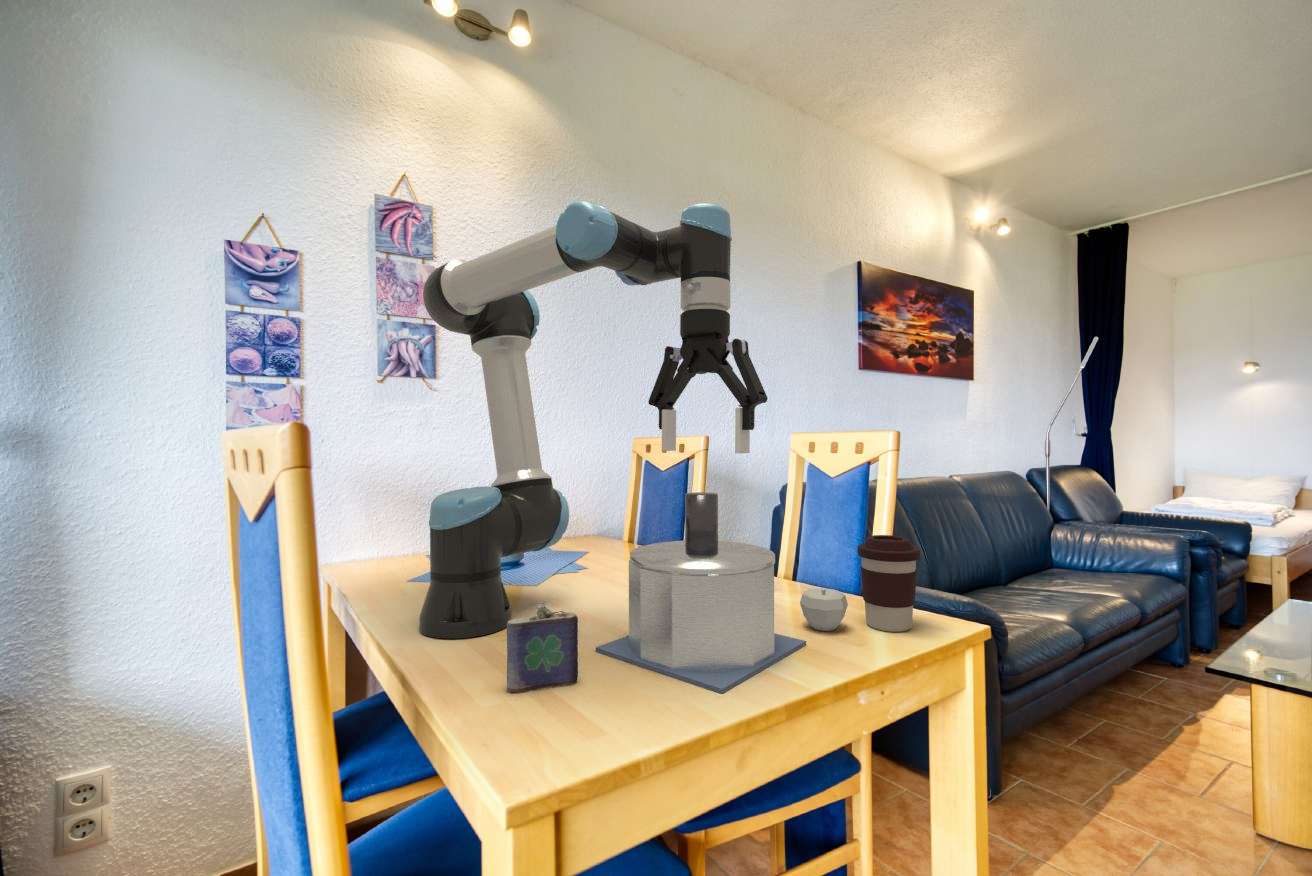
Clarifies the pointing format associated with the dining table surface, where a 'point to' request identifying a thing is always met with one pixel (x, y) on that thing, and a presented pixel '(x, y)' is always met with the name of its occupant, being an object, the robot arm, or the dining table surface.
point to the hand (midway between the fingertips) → (703, 452)
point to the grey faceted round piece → (823, 608)
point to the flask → (542, 650)
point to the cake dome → (701, 598)
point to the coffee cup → (888, 581)
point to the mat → (706, 680)
